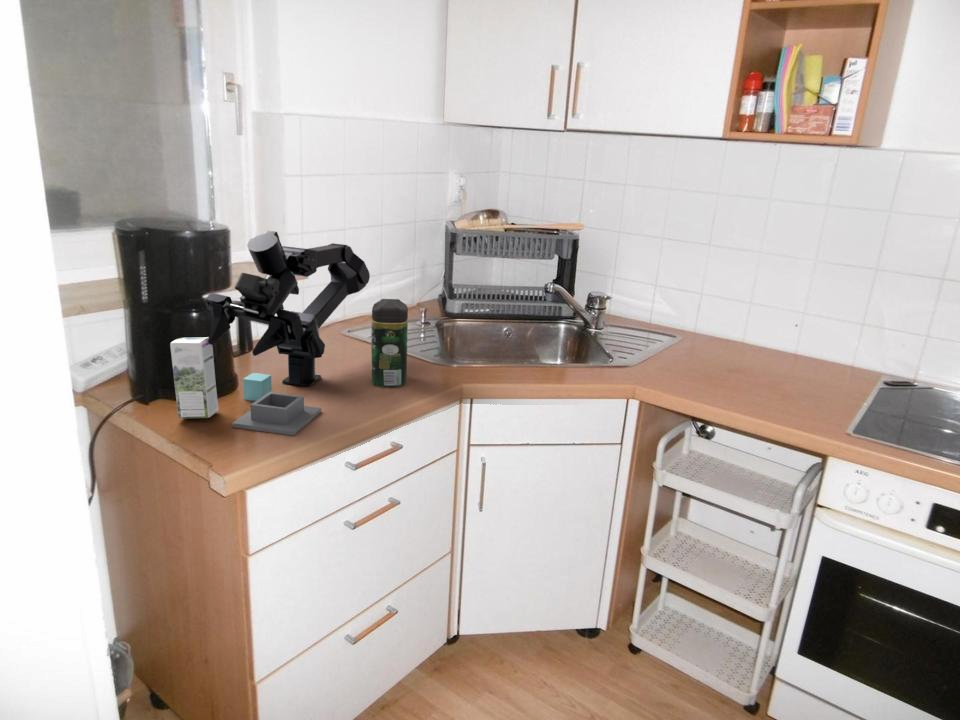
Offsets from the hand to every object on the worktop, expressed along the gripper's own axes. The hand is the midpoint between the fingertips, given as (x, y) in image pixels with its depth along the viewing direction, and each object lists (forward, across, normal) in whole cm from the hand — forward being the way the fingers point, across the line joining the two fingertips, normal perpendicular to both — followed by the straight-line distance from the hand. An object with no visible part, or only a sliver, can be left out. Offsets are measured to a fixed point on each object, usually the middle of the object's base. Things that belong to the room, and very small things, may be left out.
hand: (231, 348), depth 123 cm
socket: (+4, +9, +12) cm, 16 cm away
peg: (-2, 0, +18) cm, 18 cm away
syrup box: (+9, -5, +11) cm, 15 cm away
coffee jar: (-20, +21, +26) cm, 38 cm away
